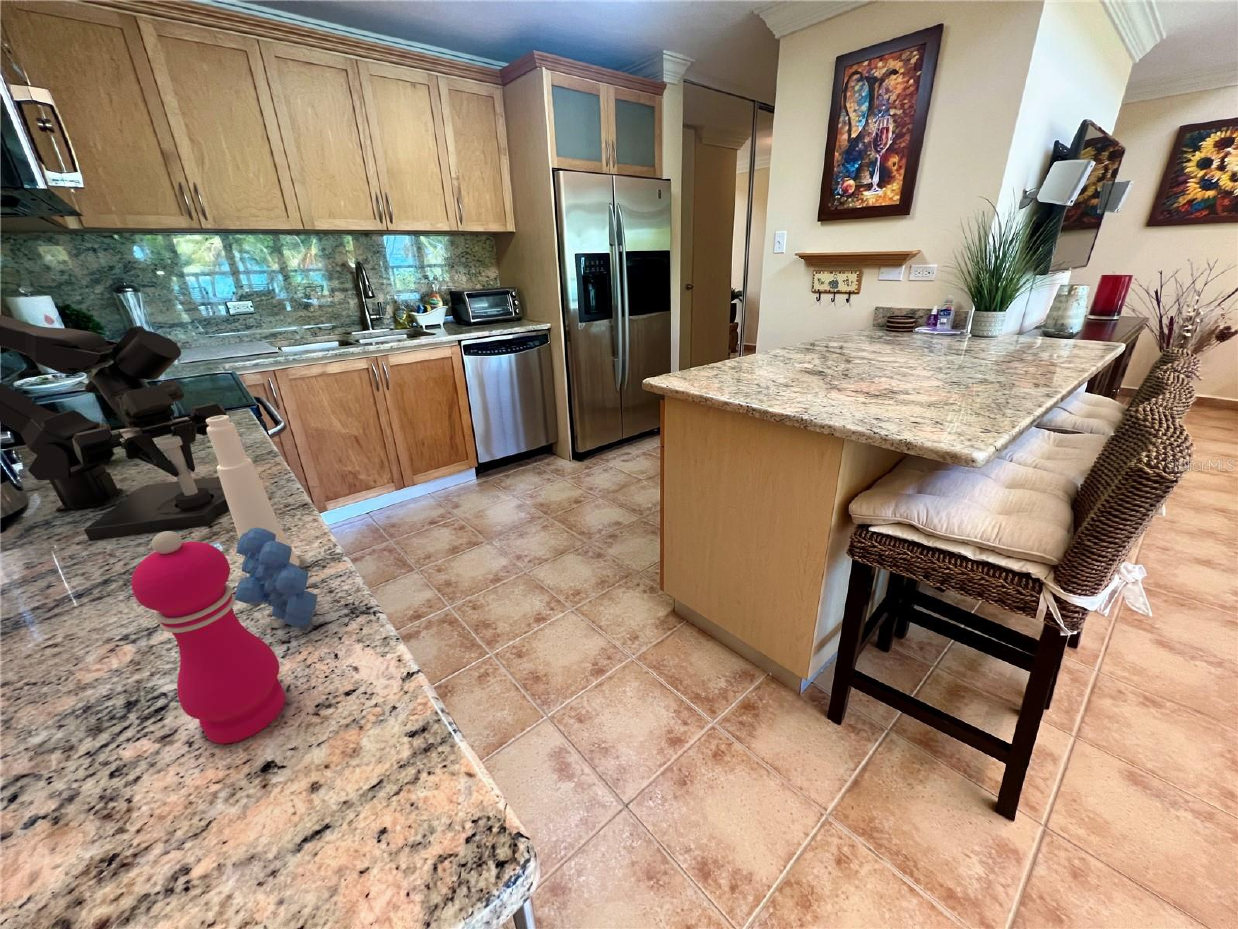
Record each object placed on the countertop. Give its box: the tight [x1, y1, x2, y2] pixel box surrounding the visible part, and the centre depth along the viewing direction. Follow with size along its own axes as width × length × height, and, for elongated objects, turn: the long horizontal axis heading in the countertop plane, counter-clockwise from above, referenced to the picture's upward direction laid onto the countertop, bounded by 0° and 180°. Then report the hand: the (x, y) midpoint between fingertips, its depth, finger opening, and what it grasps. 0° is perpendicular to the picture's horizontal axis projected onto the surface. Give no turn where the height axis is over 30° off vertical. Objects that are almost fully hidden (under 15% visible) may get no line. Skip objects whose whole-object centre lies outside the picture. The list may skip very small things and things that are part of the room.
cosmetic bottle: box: [206, 414, 300, 577], centre depth 63 cm, size 6×6×22 cm
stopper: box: [156, 435, 212, 508], centre depth 81 cm, size 4×4×12 cm
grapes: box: [234, 528, 318, 629], centre depth 55 cm, size 12×7×12 cm, turn 58°
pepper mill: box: [130, 530, 286, 744], centre depth 42 cm, size 7×7×20 cm
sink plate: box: [83, 476, 230, 541], centre depth 84 cm, size 17×16×2 cm
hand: (185, 473), depth 80 cm, fingers closed on stopper, 2 cm apart
